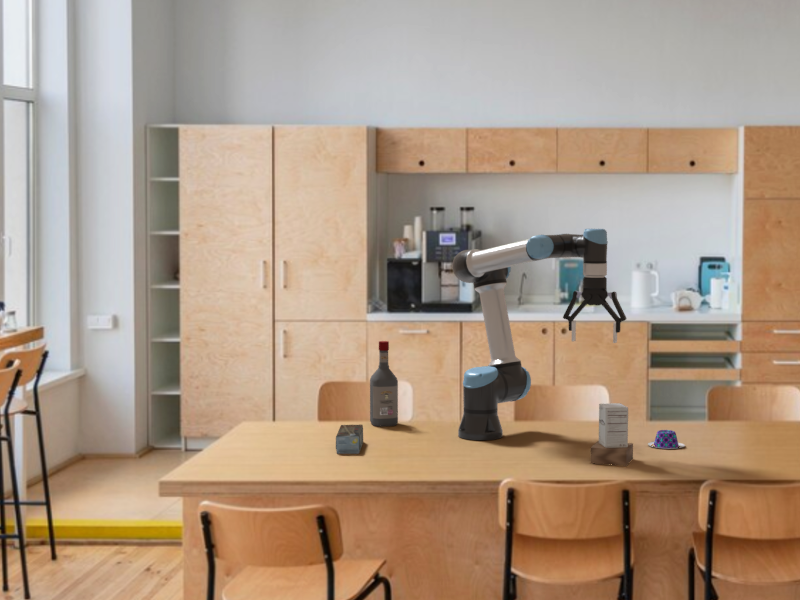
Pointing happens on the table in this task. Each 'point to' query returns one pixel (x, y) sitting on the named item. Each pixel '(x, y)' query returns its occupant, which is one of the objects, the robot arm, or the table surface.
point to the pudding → (666, 440)
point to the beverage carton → (349, 439)
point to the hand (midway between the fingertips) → (594, 341)
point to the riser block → (611, 454)
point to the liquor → (383, 392)
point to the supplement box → (613, 425)
